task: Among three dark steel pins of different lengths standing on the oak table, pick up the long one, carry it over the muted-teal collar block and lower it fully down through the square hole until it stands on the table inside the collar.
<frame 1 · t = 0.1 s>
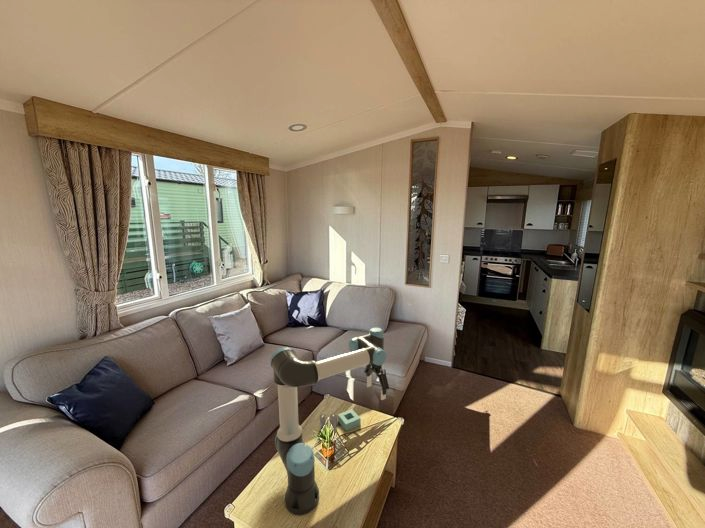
hand: (376, 392, 166), 28 cm above the table, fingers open, 13 cm apart
teal collar block: (349, 422, 182), on the table
medium steel pin: (322, 429, 177), on the table
short steel pin: (334, 423, 182), on the table
long steel pin: (333, 439, 169), on the table
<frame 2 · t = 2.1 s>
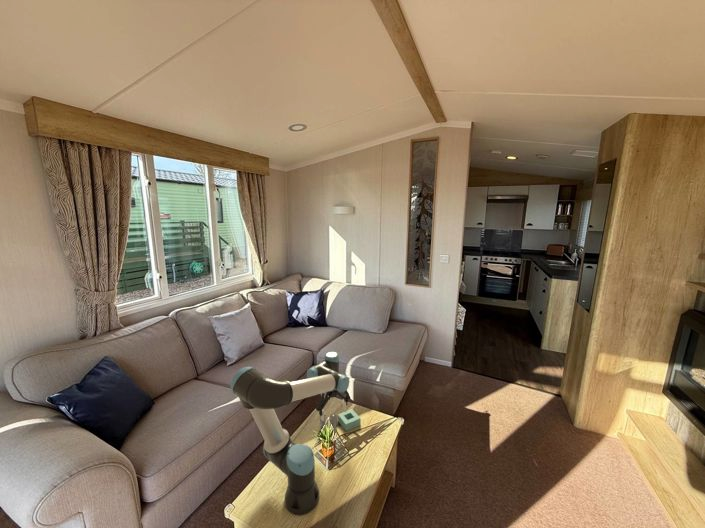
hand: (333, 415, 167), 15 cm above the table, fingers open, 13 cm apart
nothing on the table moved.
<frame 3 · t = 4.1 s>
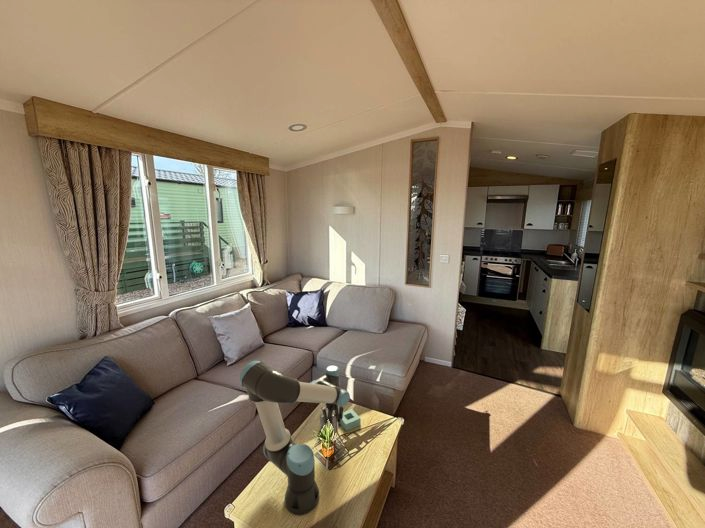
hand: (333, 432, 168), 5 cm above the table, fingers closed on long steel pin, 3 cm apart
long steel pin: (333, 439, 169), on the table, touching gripper
everything else where it was.
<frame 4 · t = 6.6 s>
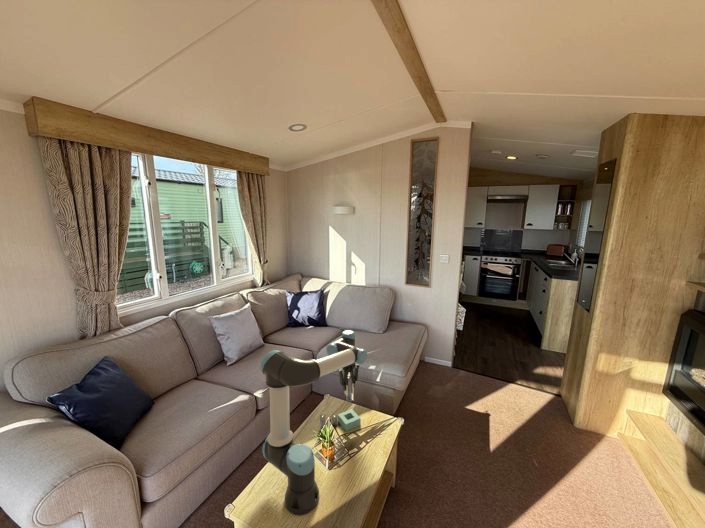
hand: (349, 393, 179), 19 cm above the table, fingers closed on long steel pin, 3 cm apart
long steel pin: (349, 400, 180), point 15 cm above the table, touching gripper
everything else where it was.
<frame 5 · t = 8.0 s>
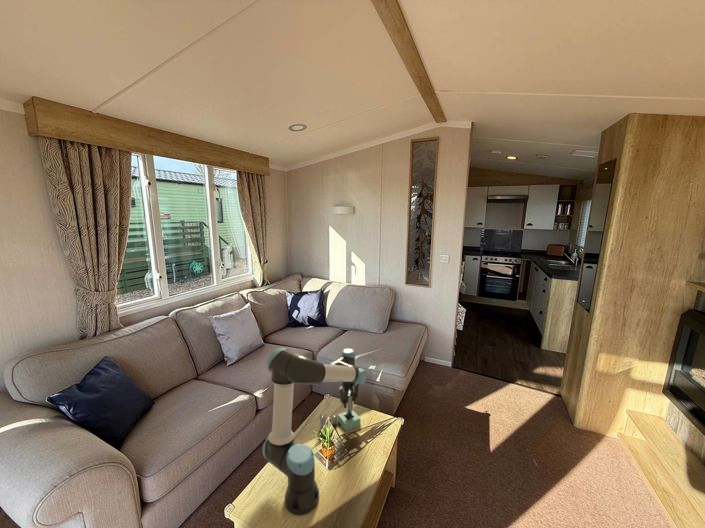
hand: (349, 410, 181), 8 cm above the table, fingers closed on long steel pin, 3 cm apart
long steel pin: (349, 417, 182), point 4 cm above the table, touching gripper
everything else where it was.
when the fingers open (6 cm above the table, at t = 9.0 s): long steel pin drops 1 cm, resting in teal collar block.
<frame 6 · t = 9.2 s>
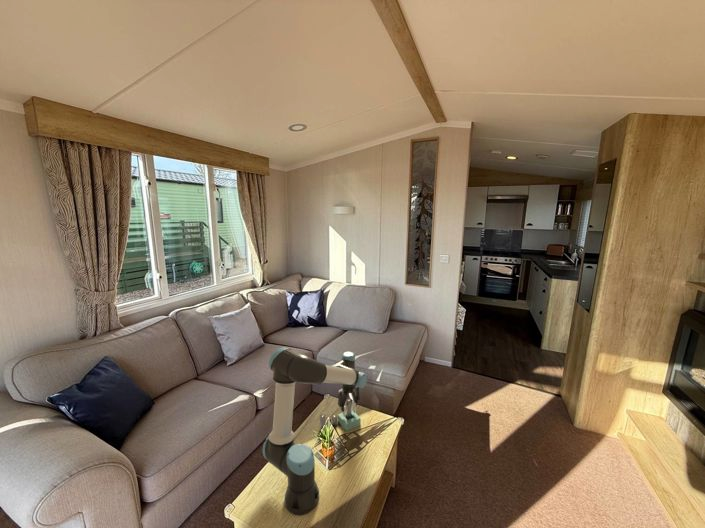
hand: (349, 413, 181), 6 cm above the table, fingers open, 6 cm apart
long steel pin: (349, 423, 182), resting in teal collar block
everything else where it was.
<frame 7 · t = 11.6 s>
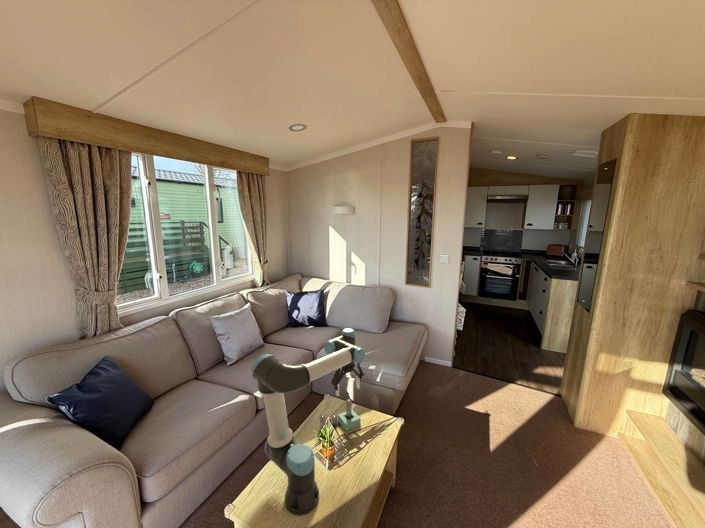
hand: (347, 391, 171), 25 cm above the table, fingers open, 13 cm apart
nothing on the table moved.
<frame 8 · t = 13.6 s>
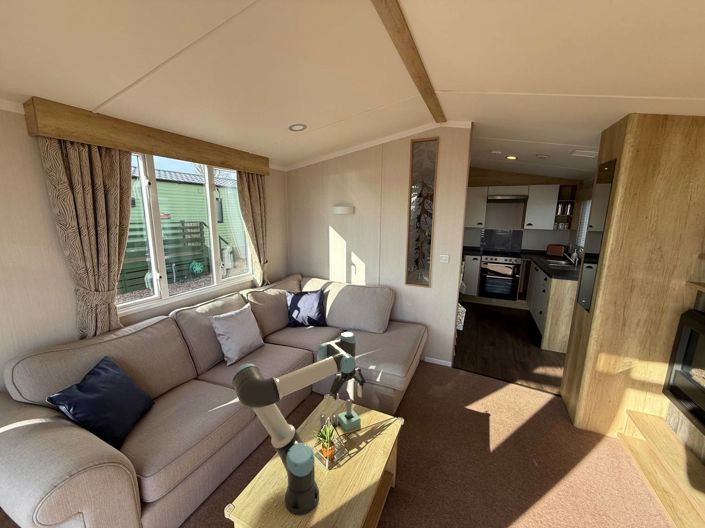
hand: (348, 400, 158), 29 cm above the table, fingers open, 13 cm apart
nothing on the table moved.
at the end: long steel pin 0.1 cm off-centre on the teal collar block, point 0.0 cm above the teal collar block's base; long steel pin tilted 0°; the gripper is holding nothing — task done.
